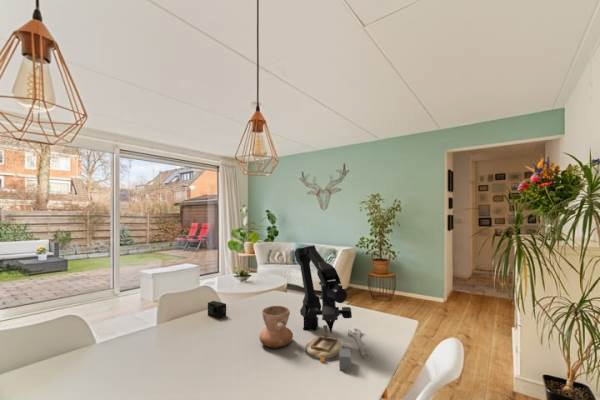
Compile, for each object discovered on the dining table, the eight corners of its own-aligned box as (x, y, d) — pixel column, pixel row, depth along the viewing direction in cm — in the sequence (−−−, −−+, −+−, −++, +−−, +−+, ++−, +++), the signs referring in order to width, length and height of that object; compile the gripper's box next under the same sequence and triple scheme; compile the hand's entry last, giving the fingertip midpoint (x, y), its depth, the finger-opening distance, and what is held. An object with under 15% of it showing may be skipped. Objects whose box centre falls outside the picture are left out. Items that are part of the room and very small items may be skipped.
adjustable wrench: (371, 361, 104) (370, 356, 104) (354, 360, 105) (353, 356, 105) (360, 331, 129) (360, 328, 129) (346, 331, 130) (346, 327, 130)
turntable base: (301, 360, 104) (301, 355, 104) (307, 339, 121) (307, 335, 121) (343, 363, 102) (343, 358, 102) (344, 342, 119) (344, 337, 119)
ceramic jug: (297, 349, 113) (297, 314, 114) (262, 355, 109) (262, 318, 110) (287, 332, 130) (286, 301, 131) (256, 336, 126) (256, 305, 127)
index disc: (299, 353, 109) (299, 336, 109) (314, 337, 122) (314, 322, 122) (335, 362, 102) (335, 344, 102) (347, 344, 115) (347, 328, 116)
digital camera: (205, 315, 152) (205, 303, 152) (213, 312, 157) (213, 300, 157) (218, 319, 146) (218, 306, 147) (226, 316, 151) (226, 303, 151)
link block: (339, 370, 98) (339, 356, 98) (340, 361, 104) (339, 348, 104) (350, 371, 97) (350, 357, 97) (350, 362, 103) (350, 348, 103)
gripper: (304, 303, 113) (307, 341, 112) (350, 302, 110) (353, 341, 109) (308, 294, 124) (310, 329, 123) (349, 293, 121) (352, 329, 120)
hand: (331, 332), depth 119 cm, fingers closed
